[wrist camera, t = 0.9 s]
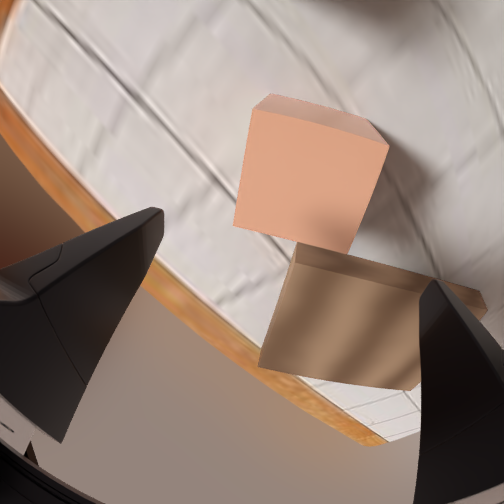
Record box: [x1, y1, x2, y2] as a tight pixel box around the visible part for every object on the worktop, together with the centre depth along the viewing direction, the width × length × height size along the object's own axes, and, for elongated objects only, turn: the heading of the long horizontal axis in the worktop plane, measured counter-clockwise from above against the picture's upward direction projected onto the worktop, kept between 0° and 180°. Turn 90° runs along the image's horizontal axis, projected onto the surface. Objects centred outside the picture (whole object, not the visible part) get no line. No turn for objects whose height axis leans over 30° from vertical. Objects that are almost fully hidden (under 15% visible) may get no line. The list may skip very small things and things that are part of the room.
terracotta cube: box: [233, 94, 390, 254], centre depth 16 cm, size 6×6×6 cm
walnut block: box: [258, 242, 488, 391], centre depth 25 cm, size 18×14×3 cm
